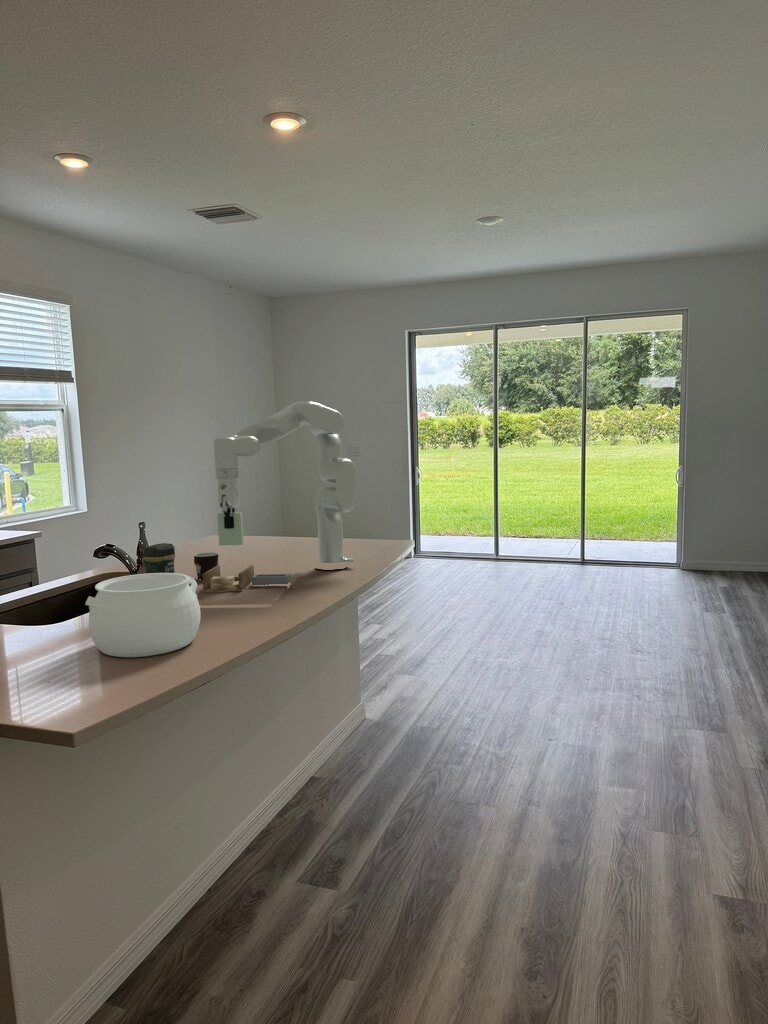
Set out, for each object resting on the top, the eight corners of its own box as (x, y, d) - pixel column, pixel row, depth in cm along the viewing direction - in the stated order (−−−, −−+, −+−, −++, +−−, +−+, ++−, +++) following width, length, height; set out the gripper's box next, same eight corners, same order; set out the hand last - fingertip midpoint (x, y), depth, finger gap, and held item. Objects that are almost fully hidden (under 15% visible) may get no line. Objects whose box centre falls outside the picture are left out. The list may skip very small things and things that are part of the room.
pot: (168, 624, 195) (164, 566, 193) (228, 639, 178) (224, 577, 176) (64, 650, 172) (59, 586, 171) (121, 671, 156) (116, 600, 154)
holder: (291, 586, 240) (290, 573, 239) (287, 590, 234) (286, 577, 233) (256, 586, 241) (256, 573, 240) (252, 590, 235) (251, 577, 234)
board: (243, 543, 239) (241, 512, 238) (242, 544, 237) (240, 512, 236) (221, 544, 240) (218, 512, 239) (219, 545, 238) (217, 513, 237)
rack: (254, 585, 243) (253, 565, 243) (242, 594, 228) (241, 573, 228) (218, 585, 244) (217, 565, 244) (203, 595, 230) (202, 574, 229)
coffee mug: (221, 582, 249) (220, 555, 248) (196, 585, 245) (195, 557, 244) (216, 577, 259) (215, 550, 258) (193, 579, 256) (191, 552, 255)
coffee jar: (162, 606, 216) (158, 546, 214) (141, 604, 219) (138, 545, 217) (182, 598, 225) (178, 542, 223) (162, 597, 228) (159, 541, 226)
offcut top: (234, 581, 235) (234, 576, 235) (232, 584, 230) (231, 578, 230) (214, 582, 235) (213, 576, 235) (210, 585, 230) (210, 579, 230)
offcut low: (241, 587, 235) (241, 582, 234) (237, 590, 230) (237, 584, 230) (215, 588, 235) (214, 582, 235) (210, 591, 231) (210, 585, 231)
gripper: (230, 475, 228) (234, 531, 230) (244, 472, 243) (247, 524, 245) (208, 475, 228) (212, 531, 230) (223, 472, 244) (226, 524, 246)
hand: (230, 527), depth 238 cm, fingers closed on board, 2 cm apart
